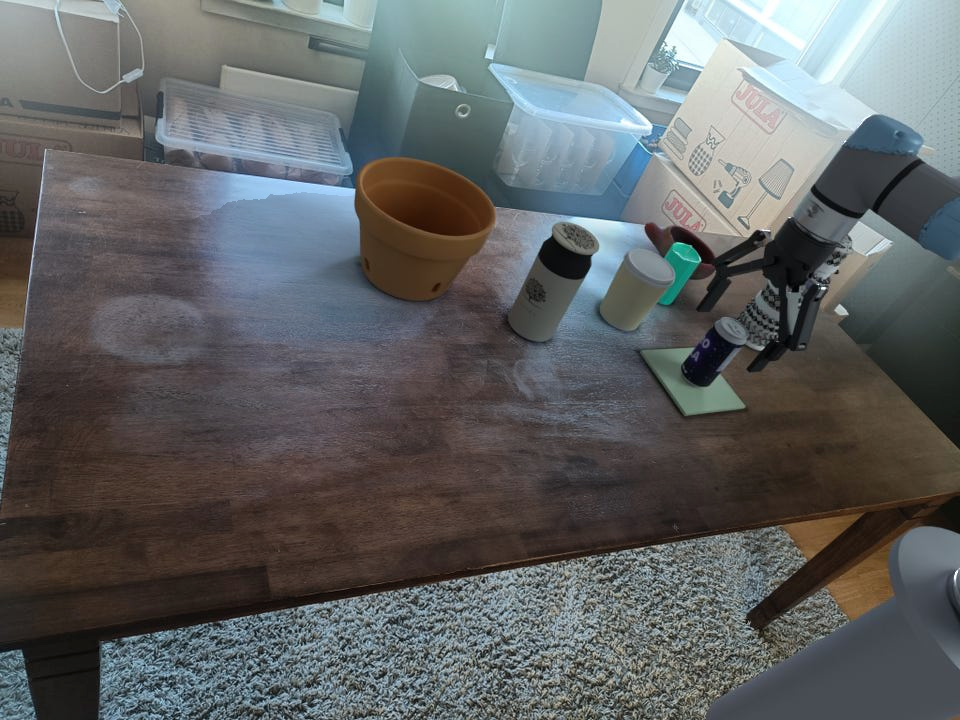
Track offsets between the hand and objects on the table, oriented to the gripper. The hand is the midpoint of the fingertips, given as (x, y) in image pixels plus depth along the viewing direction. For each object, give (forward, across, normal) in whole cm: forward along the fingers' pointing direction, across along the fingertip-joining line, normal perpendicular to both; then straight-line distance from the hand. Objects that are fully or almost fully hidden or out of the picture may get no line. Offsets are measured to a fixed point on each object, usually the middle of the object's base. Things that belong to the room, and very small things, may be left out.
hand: (726, 339), depth 100 cm
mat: (+10, 0, 0) cm, 10 cm away
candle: (+10, -22, +8) cm, 26 cm away
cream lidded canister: (+10, -16, -6) cm, 20 cm away
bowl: (+10, -30, +17) cm, 36 cm away
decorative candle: (+10, -10, +24) cm, 28 cm away
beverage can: (+10, 0, 0) cm, 10 cm away
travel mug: (+10, -14, -26) cm, 31 cm away
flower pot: (+10, -27, -44) cm, 53 cm away
